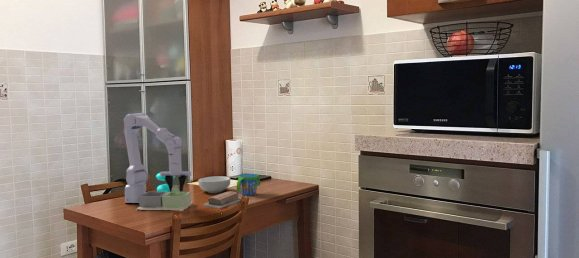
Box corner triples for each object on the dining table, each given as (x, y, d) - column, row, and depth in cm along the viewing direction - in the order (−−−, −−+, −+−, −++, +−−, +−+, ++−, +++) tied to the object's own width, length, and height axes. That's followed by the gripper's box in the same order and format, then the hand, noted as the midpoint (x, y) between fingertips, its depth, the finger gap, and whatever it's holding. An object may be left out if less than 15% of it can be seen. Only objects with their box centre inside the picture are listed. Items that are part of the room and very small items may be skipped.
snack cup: (253, 190, 265) (253, 172, 264) (266, 193, 257) (266, 174, 256) (230, 195, 254) (230, 176, 253) (243, 198, 246) (243, 178, 245)
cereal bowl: (233, 188, 272) (233, 175, 271) (226, 195, 256) (226, 181, 255) (203, 188, 274) (203, 175, 273) (195, 195, 257) (194, 181, 257)
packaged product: (225, 189, 248) (241, 191, 243) (225, 199, 248) (242, 201, 243) (202, 197, 232) (219, 199, 227) (203, 207, 232) (220, 209, 228)
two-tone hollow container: (136, 210, 227) (135, 197, 227) (148, 203, 241) (147, 191, 240) (182, 211, 225) (182, 198, 224) (192, 203, 238) (191, 191, 238)
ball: (170, 195, 231) (170, 186, 230) (173, 193, 235) (173, 184, 235) (179, 195, 230) (179, 186, 230) (182, 193, 234) (182, 184, 234)
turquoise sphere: (170, 171, 274) (177, 173, 266) (171, 188, 275) (178, 191, 267) (153, 173, 268) (160, 175, 260) (154, 191, 269) (161, 194, 261)
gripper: (157, 164, 228) (158, 193, 229) (187, 164, 226) (188, 193, 228) (162, 161, 235) (163, 189, 236) (192, 161, 233) (193, 189, 235)
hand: (176, 191), depth 232 cm, fingers closed on ball, 4 cm apart
